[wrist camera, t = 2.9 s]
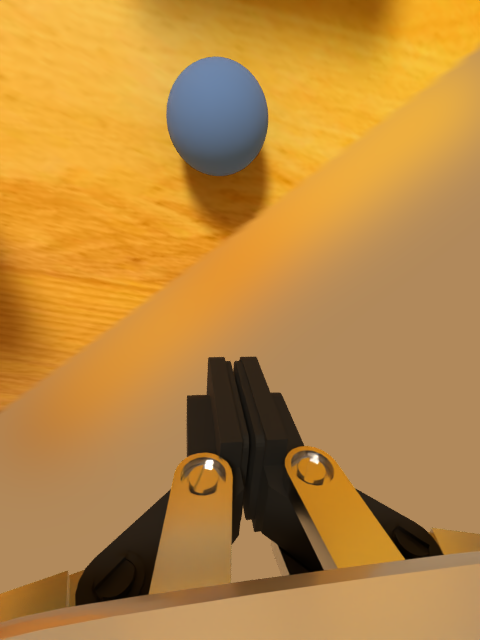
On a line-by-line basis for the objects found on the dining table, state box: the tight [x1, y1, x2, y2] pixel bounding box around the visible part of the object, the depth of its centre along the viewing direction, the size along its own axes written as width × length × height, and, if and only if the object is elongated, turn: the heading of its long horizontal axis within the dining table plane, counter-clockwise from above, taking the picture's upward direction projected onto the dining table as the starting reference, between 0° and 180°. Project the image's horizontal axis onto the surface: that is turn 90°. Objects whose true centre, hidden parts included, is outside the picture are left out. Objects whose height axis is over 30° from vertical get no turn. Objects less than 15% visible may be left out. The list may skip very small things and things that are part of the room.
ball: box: [167, 57, 268, 176], centre depth 20 cm, size 6×6×6 cm
